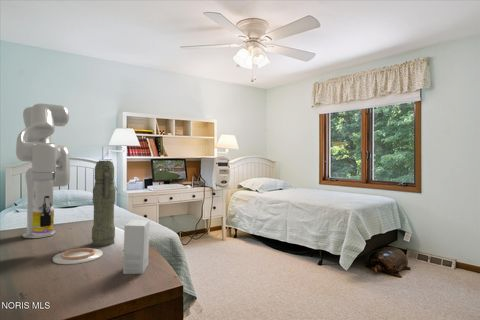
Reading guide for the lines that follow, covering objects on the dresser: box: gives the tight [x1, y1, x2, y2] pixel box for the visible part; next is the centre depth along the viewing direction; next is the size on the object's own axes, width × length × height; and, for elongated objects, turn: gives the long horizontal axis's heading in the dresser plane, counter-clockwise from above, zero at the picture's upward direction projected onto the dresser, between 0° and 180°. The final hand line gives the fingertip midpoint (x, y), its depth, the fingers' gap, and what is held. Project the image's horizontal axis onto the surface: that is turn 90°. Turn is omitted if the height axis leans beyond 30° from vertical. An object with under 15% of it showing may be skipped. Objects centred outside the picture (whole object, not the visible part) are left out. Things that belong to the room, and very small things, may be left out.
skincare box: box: [122, 219, 150, 275], centre depth 97 cm, size 8×7×16 cm
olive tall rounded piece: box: [91, 160, 116, 247], centre depth 126 cm, size 9×12×35 cm
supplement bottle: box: [32, 206, 55, 236], centre depth 111 cm, size 7×7×13 cm
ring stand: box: [52, 247, 103, 265], centre depth 109 cm, size 16×16×2 cm
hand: (43, 223), depth 111 cm, fingers closed on supplement bottle, 6 cm apart
